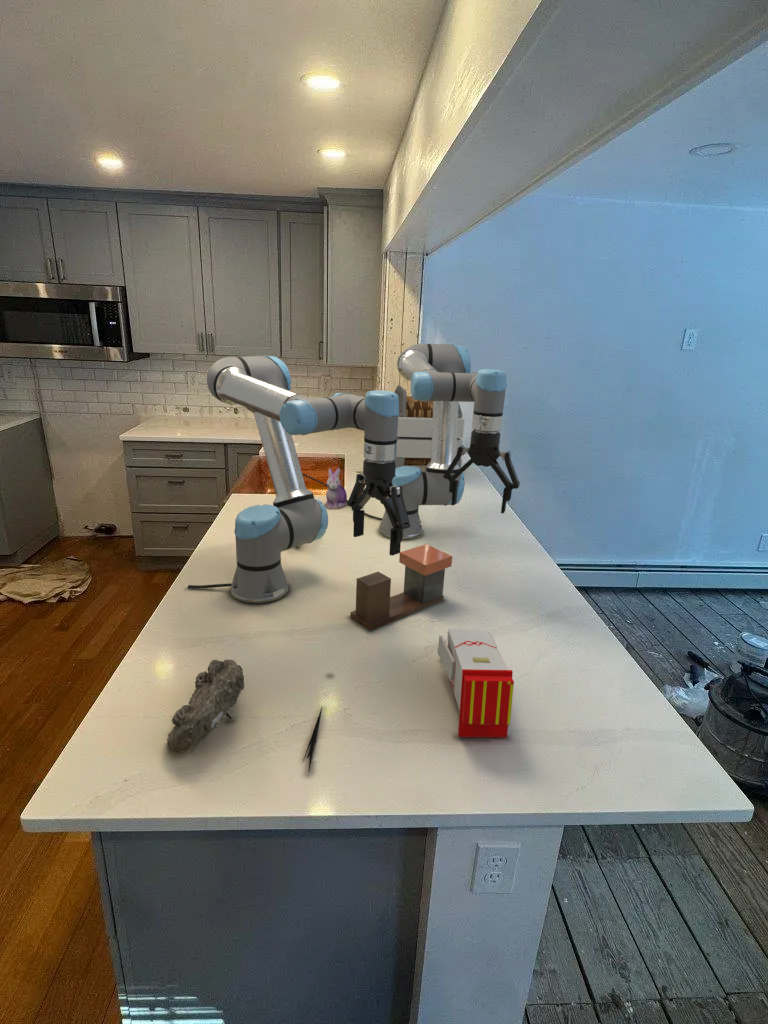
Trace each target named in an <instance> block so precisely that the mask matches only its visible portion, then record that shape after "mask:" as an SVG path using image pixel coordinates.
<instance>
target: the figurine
mask: <svg viewBox="0 0 768 1024" xmlns="http://www.w3.org/2000/svg"><path fill="white" fill-rule="evenodd" d="M340 473H341V469H340V467H337V468H336V470H335V471H333V469H332V468H329V469H328V479H327V480H326V485H327V487H326V488H327V490H326V493H325V497H326V503H325V506H326V508H329V509H339V508H344V507H345V506H347V502H346V501H347V500H348V495H347V491H346V489H345V488H344V487H343V486H342V482H341V480H340V478H339V476H340Z"/></svg>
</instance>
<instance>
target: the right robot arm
mask: <svg viewBox="0 0 768 1024" xmlns="http://www.w3.org/2000/svg"><path fill="white" fill-rule="evenodd" d="M471 362H472V361H471V356H470V352H469V349H468V348H467V347H466V346H464V345H461V344H454V343H452V344H449V343H448V344H447V343H425V342H424V343H416V344H412V345H411V346H408V347H405V349H404V350H403V351H402V352H400V354H399V356H398V358H397V361H396V367H397V371H398V373H399V374H400V376H401V377H402V378H403V379H405V380H407V381H409V382H410V396H412V398H413V399H414V400H421V401H433V422H432V445H431V462H430V463H429V464H428V465H427V466H425V471H422V469H421V467H420V466H407V465H404V466H403V467H397V468H396V470H395V476H394V478H393V479H392V484H393V486H402V492H403V499H404V503H405V507H406V511H407V514H408V518H409V522H410V528H407V529H403V538H402V541H410V540H415V539H418V538H420V537H421V536H422V535H423V525H422V520H421V518H420V515H419V507H420V506H447V507H448V506H456V505H457V504H459V502H460V501H461V500H462V498H463V495H464V493H465V492H464V491H465V484H466V481H465V474H464V472H465V471H466V470H467V469H468V468H469V467H470V466H472V464H474V465H475V466H478V467H485V468H488V467H491V469H492V470H493V471H494V472H495V474H496V475H497V477H498V478H499V480H500V481H501V483H502V484H503V486H504V488H503V492H502V499H501V500H502V501H501V508H500V514H505V513H506V507H507V502H510V501H511V499H512V493H513V490H517V489H519V487H520V485H521V484H520V480H519V478H518V475H517V472H516V469H515V467H514V464H513V461H512V452H511V451H510V450H507V451H500V442H501V433H500V432H501V431H502V427H503V426H502V425H503V417H504V407H505V399H506V391H507V388H508V386H507V385H508V384H507V379H508V377H507V376H508V375H507V372H506V371H504V370H502V369H501V370H500V369H494V368H481V369H478V371H472V363H471ZM460 402H463V403H465V402H466V403H469V402H470V403H473V413H472V422H471V428H472V431H471V434H470V443H469V447H466V446H464V444H462V445H461V446H460V447H458V450H457V455H456V446H457V427H458V407H459V405H460ZM466 453H467V454H468V456H469V460H468V461H467V462H465V464H464V465H461V468H460V467H459V466H458V465H457V463H458V461H459V460H460V458H462V457H463V456H465V454H466ZM500 457H501V460H502V461H504V464H505V467H506V470H507V472H508V475H509V477H510V479H509V477H508V475H507V474H506V473H505V471H504V470H503V468H502V467H501V464H500V463H499V461H498V459H499V458H500ZM302 475H303V477H305V478H308V479H310V480H313V481H315V482H316V483H319V484H320V485H323V486H324V487H326V488H328V487H327V483H324V482H323V481H320V480H318V479H316V478H314V477H312V476H310V475H307V474H305V473H302ZM387 498H389V497H387ZM387 498H386V499H387ZM348 500H349V499H347V501H346V503H347V502H348ZM364 516H365V517H366V516H367V517H368V518H372V519H375V520H379V521H381V522H379V526H378V533H379V534H380V535H381V536H382V537H385V538H387V539H390V535H391V529H392V528H393V526H392V523H391V521H390V519H389V516H388V514H387V512H386V509H385V508H384V513H383V515H382V517H378V516H375V515H372V514H369V513H367V512H364ZM397 524H398V522H397Z"/></svg>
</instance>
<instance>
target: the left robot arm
mask: <svg viewBox="0 0 768 1024" xmlns="http://www.w3.org/2000/svg"><path fill="white" fill-rule="evenodd" d="M291 384H292V377H291V373H290V371H289V368H288V366H287V365H286V364H285V362H284V361H283V360H282V359H280V358H279V357H277V356H274V355H265V354H260V355H248V356H247V355H246V356H225V357H223V358H220V359H218V360H216V361H215V362H214V363H213V364H212V365H211V366H210V368H209V369H208V371H207V375H206V386H207V389H208V391H209V393H210V394H211V396H213V397H214V398H216V399H217V400H218V401H219V402H222V403H224V404H227V405H230V406H234V405H235V406H236V405H239V406H242V407H244V408H246V410H248V411H249V412H251V413H252V414H253V415H254V419H255V423H256V426H257V430H258V433H259V438H260V441H261V445H262V448H263V449H262V450H263V452H264V455H265V456H264V457H265V459H266V464H267V467H268V470H269V474H270V477H271V481H272V485H273V489H274V492H275V498H274V500H273V502H272V504H261V505H260V504H256V505H251V506H249V507H245V508H244V509H242V510H241V511H240V512H238V514H237V515H236V517H235V521H234V535H235V553H236V554H235V555H236V568H235V571H234V575H233V578H232V582H230V583H215V584H200V585H198V584H195V585H194V584H188V585H187V588H188V589H212V588H230V590H231V591H230V592H231V596H232V597H233V598H234V599H235V600H237V601H239V602H242V603H245V604H255V605H259V604H261V605H262V604H268V603H272V602H275V601H278V600H280V599H282V598H284V596H286V595H287V593H288V591H289V583H288V579H287V576H286V573H285V571H284V568H283V566H282V552H284V551H286V550H291V549H294V548H298V547H300V546H303V545H307V544H312V543H313V542H316V541H318V540H319V539H322V538H323V537H324V536H325V534H326V533H327V532H326V531H327V530H328V526H329V514H328V510H327V507H326V505H325V504H323V502H322V500H320V499H316V498H315V495H314V492H312V491H311V490H309V489H308V488H307V487H306V482H305V478H304V476H303V475H302V474H303V471H302V468H301V463H300V461H299V457H298V456H299V455H298V452H297V449H296V445H295V442H294V438H293V436H307V435H310V434H317V433H322V432H327V431H328V432H329V431H335V430H343V429H356V430H360V431H363V433H364V436H363V441H364V442H363V458H364V459H363V462H362V473H357V474H356V476H355V483H354V486H353V488H352V490H351V493H350V496H349V498H348V499H347V500H348V502H346V506H347V507H350V508H351V511H352V523H353V531H352V532H353V535H352V536H353V538H358V537H361V536H364V535H365V533H364V532H365V515H364V513H365V510H364V509H365V506H366V504H367V503H368V502H369V501H370V499H371V498H372V499H375V500H377V501H379V502H380V504H381V505H383V507H384V510H385V509H386V512H387V514H388V516H389V519H390V521H391V523H392V526H393V528H392V529H391V535H390V538H389V553H388V554H389V556H395V555H398V554H399V555H400V552H401V547H402V545H401V544H402V542H403V540H402V538H403V529H407V528H410V522H409V518H408V514H407V511H406V507H405V503H404V499H403V492H402V486H393V484H392V479H393V478H394V476H395V470H396V462H395V461H394V460H395V459H396V453H397V429H398V417H399V398H398V395H397V394H396V393H394V392H395V391H390V390H380V389H379V390H368V391H367V392H366V393H365V396H361V395H356V394H352V393H350V392H336V393H334V394H332V395H331V396H325V397H307V396H304V395H303V394H302V395H301V394H299V393H297V392H294V391H291V389H292V386H291ZM387 497H389V498H387ZM386 498H387V499H386ZM397 522H398V524H397ZM297 546H298V547H297Z"/></svg>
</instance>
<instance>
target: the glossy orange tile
mask: <svg viewBox="0 0 768 1024" xmlns="http://www.w3.org/2000/svg"><path fill="white" fill-rule="evenodd" d="M398 563H399V564H401V565H403V566H407V567H409V568H411V569H413V570H415V571H417V572H419V573H421V574H423V575H425V576H426V575H429V574H431V573H434V572H437V571H440V570H442V569H445V570H446V569H448V568H450V567H452V566H453V555H451V554H449V553H447V552H445V551H443V550H441V549H438V548H436V547H434V546H432V545H431V544H427V543H425V544H422V545H419V546H416V547H412V548H409V549H406V550H404V551H400V553H399V559H398Z"/></svg>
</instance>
